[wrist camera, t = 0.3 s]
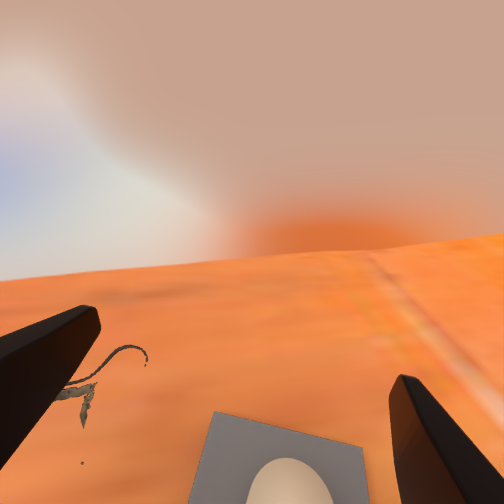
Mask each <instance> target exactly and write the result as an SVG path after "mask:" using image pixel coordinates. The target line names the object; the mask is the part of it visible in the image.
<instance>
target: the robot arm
mask: <svg viewBox="0 0 504 504" xmlns="http://www.w3.org/2000/svg"><path fill="white" fill-rule="evenodd" d="M100 331H101V323H100V319H99V316H98V312H97V309H96V308H95V307H92V306H88V305H80V306H77V307H75V308H72V309H70V310H67V311H65V312H62V313H60V314H57V315H55V316H52V317H50V318H47V319H45V320H42V321H39V322H37V323H34V324H32V325H29V326H27V327H24V328H22V329H19V330H17V331H14V332H12V333H9V334H7V335H4V336H2V337H0V470H1V469H2V468H3V466H4V465H5V464H6V462H7V461H8V460H9V458H10V457H11V456H12V455H13V453H14V452H15V451H16V449H17V448H18V447H19V445H20V444H21V443H22V442H23V440H24V439H25V438H26V436H27V435H28V434H29V432H30V431H31V430H32V429H33V427H34V426H35V425H36V423H37V422H38V421H39V419H40V418H41V417H42V416H43V414H44V413H45V412H46V410H47V409H48V408H49V406H50V405H51V404H52V403H53V401H54V400H55V399H56V397H57V396H58V395H59V393H60V392H61V391H62V390H63V388H64V387H65V386H66V384H67V383H68V382H69V380H70V379H71V377H72V376H73V374H74V373H75V372H76V370H77V368H78V367H79V365H80V364H81V362H82V361H83V359H84V357H85V356H86V354H87V353H88V351H89V350H90V348H91V346H92V345H93V343H94V342H95V340H96V339H97V337H98V335H99V334H100ZM389 411H390V423H391V434H392V446H393V457H394V466H395V472H396V477H397V483H398V488H399V493H400V498H401V504H504V478H503V477H502V476H501V475H500V473H499V472H498V471H497V470H496V469H495V468H494V466H493V465H492V464H491V463H490V462H489V461H488V459H487V458H486V457H485V456H484V455H483V454H482V452H481V451H480V450H479V449H478V448H477V447H476V445H475V444H474V443H473V442H472V441H471V440H470V438H469V437H468V436H467V435H466V434H465V433H464V431H463V430H462V429H461V428H460V427H459V426H458V424H457V423H456V422H455V421H454V420H453V419H452V417H451V416H450V415H449V414H448V413H447V412H446V411H445V409H444V408H443V407H442V406H441V405H440V404H439V402H438V401H437V400H436V399H435V398H434V397H433V395H432V394H431V393H430V392H429V391H428V390H427V388H426V387H425V386H424V385H423V384H422V383H421V381H420V380H419V379H417V378H416V377H412V376H408V375H403V374H400V375H399V376H398V377H397V379H396V381H395V383H394V385H393V387H392V390H391V392H390V394H389Z"/></svg>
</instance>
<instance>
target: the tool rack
mask: <svg viewBox="0 0 504 504" xmlns="http://www.w3.org/2000/svg"><path fill="white" fill-rule="evenodd" d="M188 504H370V503H369V495H368V487H367V480H366V472H365V464H364V457H363V449H362V448H361V447H357V446H353V445H349V444H345V443H341V442H337V441H333V440H329V439H325V438H321V437H317V436H313V435H309V434H305V433H300V432H296V431H292V430H288V429H284V428H280V427H276V426H272V425H268V424H264V423H260V422H256V421H252V420H248V419H244V418H240V417H236V416H232V415H227V414H223V413H219V412H215V411H214V414H213V417H212V421H211V424H210V428H209V431H208V435H207V438H206V442H205V445H204V449H203V452H202V456H201V459H200V462H199V466H198V469H197V473H196V476H195V480H194V483H193V487H192V490H191V494H190V497H189V501H188Z"/></svg>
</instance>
